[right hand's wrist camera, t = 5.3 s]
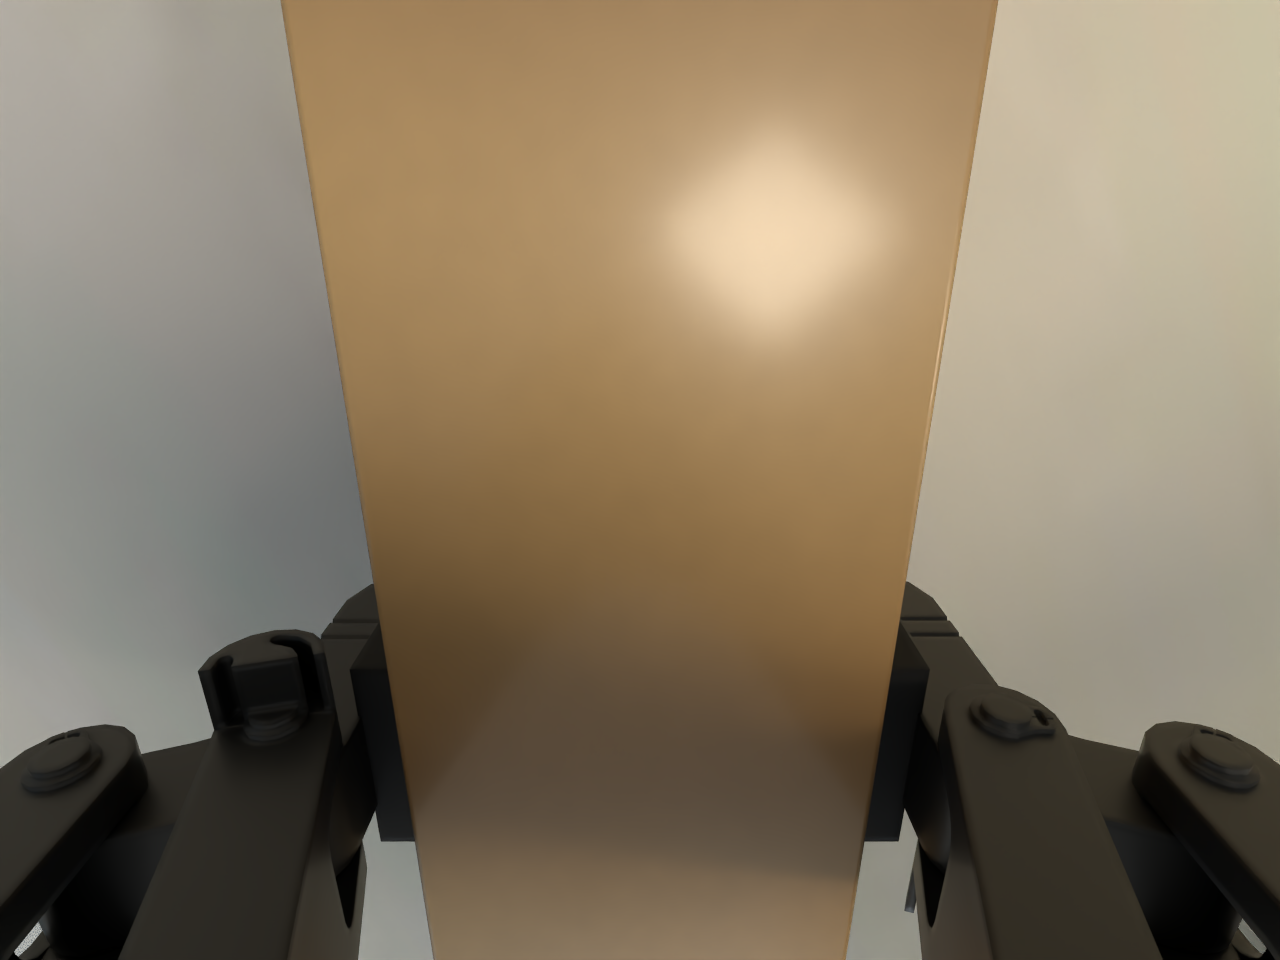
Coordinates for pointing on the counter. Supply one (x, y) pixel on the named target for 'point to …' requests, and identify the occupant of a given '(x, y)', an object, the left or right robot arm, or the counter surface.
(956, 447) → the counter surface
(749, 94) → the post
